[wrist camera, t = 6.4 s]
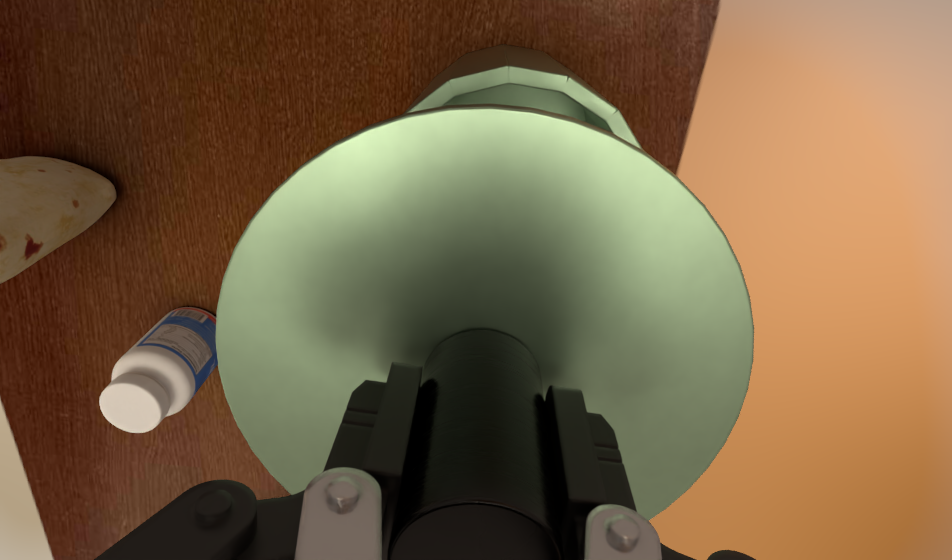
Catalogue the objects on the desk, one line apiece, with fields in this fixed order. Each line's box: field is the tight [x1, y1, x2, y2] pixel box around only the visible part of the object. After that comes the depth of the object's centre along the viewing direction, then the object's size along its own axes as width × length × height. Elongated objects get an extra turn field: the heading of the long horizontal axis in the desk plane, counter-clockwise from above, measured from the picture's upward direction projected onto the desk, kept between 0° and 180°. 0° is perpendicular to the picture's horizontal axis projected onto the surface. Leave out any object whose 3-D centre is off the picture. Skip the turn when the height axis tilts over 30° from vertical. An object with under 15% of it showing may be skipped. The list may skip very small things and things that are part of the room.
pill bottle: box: [99, 307, 218, 433], centre depth 43 cm, size 6×5×10 cm
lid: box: [216, 104, 754, 560], centre depth 13 cm, size 13×13×7 cm
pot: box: [404, 44, 644, 151], centre depth 33 cm, size 12×12×16 cm
